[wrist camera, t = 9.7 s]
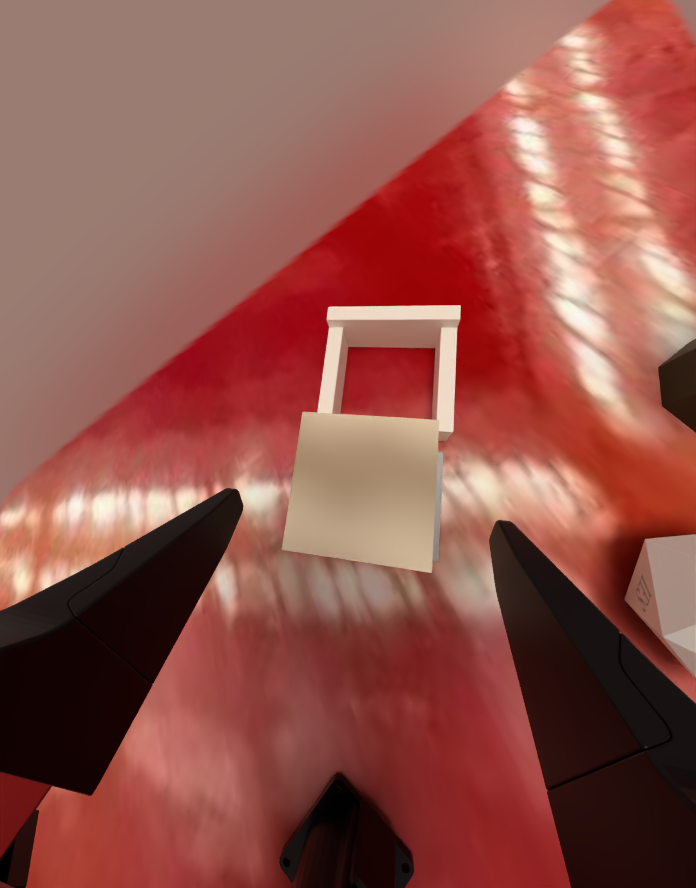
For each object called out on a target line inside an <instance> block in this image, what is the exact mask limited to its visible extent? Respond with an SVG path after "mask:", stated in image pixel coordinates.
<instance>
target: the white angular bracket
mask: <svg viewBox="0 0 696 888" xmlns="http://www.w3.org/2000/svg"><path fill="white" fill-rule="evenodd" d="M460 306H461V305H457V306H366V307H328V314H327V322H328V325H329V333H328V341H327V348H326V355H325V362H324V369H323V376H322V384H321V391H320V398H319V405H318V412H317V413H331V414H340V412H341V404H342V396H343V388H344V379H345V371H346V363H347V355H348V347H388V348H435V366H434V385H433V404H432V420H439V437H438V441H446V440H447V439H448V438H449V436H450V435H451V434H452V433H453V424H454V397H455V369H456V342H457V326H458V324H459V321H460Z"/></svg>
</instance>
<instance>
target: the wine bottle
mask: <svg viewBox="0 0 696 888" xmlns="http://www.w3.org/2000/svg"><path fill="white" fill-rule="evenodd" d="M659 377H660V387H661V397H662V406H663V407H665V408H666V409H667V410H668V411H670V412H671V413H672V414H674V415H675V416H676V417H677V418H679V419H680V420H681V421H682V422H684V423H685V424H686V425H687V426H689V427H690V428H691V429H692V430H694V431H695V432H696V339H695V340H693V341H691V342H689V343H688V344H687V345H686V346H684V347H683V348H682V349H681V350H680V351H678V352H677V353H676V354H675V355H673V356H672V357H671V358H670V359H668V360H667V361H666V362H665V363H663V364H662V365H661V366H660V367H659Z"/></svg>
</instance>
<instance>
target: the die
mask: <svg viewBox="0 0 696 888" xmlns="http://www.w3.org/2000/svg"><path fill="white" fill-rule="evenodd" d="M624 600H625V601H626V602H627V603H628V604H629V606H630V607H631V608H632V609H633V610H634V611H635V612H636V613H637V615H638V616H639V617H640V618H641V619H642V620H643V621H644V622H645V624H646V625H647V626H648V627H649V628H650V629H651V630H652V631H653V632H654V634H655V635H656V636H657V637H658V638H659V639H660V640H661V642H662V643H663V644H664V645H665V646H666V647H667V648H668V649H669V651H670V652H671V653H672V654H673V655H674V656H675V657H676V659H677V660H678V661H679V662H680V663H681V664H682V665H683V666H684V668H685V669H686V670H687V671H688V672H689V673H690V674H691V675H692V677H693V678H694V679H695V680H696V534H693V535H682V536H671V537H661V538H650V539H645V541H644V544H643V547H642V550H641V553H640V555H639V558H638V561H637V564H636V567H635V570H634V573H633V576H632V579H631V581H630V584H629V587H628V590H627V593H626V596H625V599H624Z"/></svg>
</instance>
